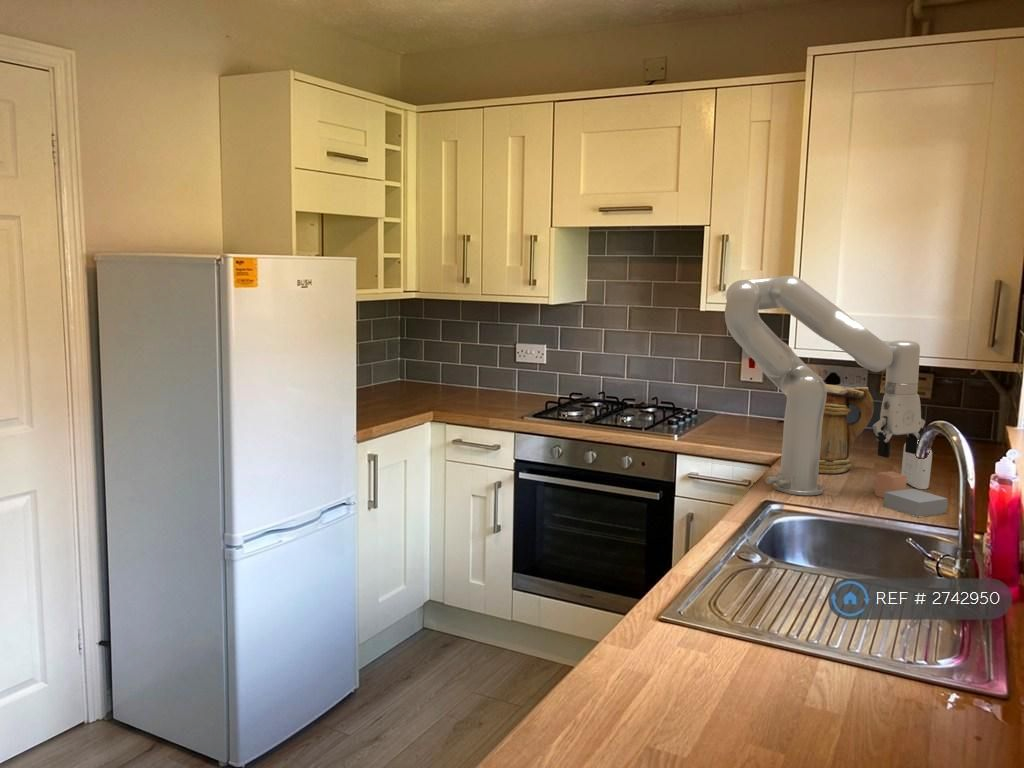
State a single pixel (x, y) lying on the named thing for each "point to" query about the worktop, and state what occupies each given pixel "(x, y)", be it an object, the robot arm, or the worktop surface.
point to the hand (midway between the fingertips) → (897, 454)
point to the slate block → (915, 502)
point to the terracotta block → (889, 482)
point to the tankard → (842, 426)
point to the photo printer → (916, 469)
